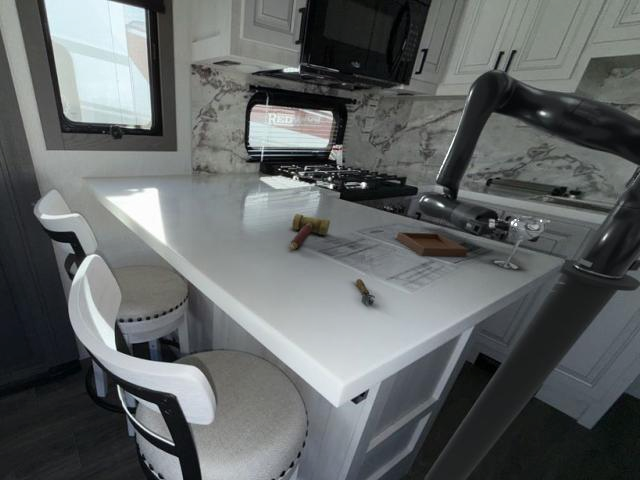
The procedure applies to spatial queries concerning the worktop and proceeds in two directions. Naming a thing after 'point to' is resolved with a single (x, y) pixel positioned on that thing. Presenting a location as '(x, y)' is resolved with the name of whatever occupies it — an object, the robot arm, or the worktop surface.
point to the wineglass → (524, 232)
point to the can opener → (365, 292)
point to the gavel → (307, 228)
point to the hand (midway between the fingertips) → (521, 237)
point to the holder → (431, 244)
